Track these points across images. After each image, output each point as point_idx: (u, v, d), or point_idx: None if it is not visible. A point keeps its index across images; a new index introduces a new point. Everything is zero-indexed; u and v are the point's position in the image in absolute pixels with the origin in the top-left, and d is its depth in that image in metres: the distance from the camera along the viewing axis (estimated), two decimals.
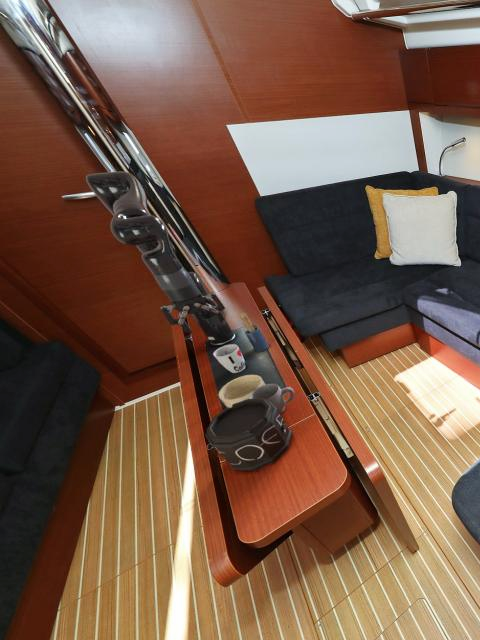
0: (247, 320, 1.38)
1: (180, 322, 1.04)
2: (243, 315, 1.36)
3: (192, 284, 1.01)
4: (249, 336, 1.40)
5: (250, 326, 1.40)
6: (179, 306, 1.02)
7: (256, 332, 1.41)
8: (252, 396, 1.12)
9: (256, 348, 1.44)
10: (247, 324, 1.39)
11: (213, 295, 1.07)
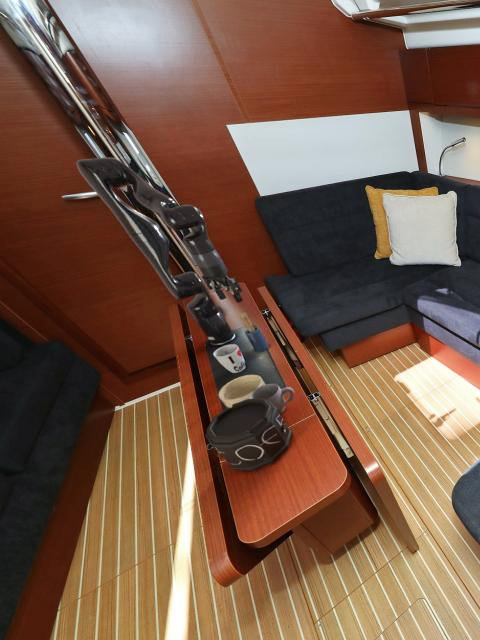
0: (247, 320, 1.38)
1: (213, 290, 1.28)
2: (243, 315, 1.36)
3: (212, 267, 1.19)
4: (249, 336, 1.40)
5: (250, 326, 1.40)
6: (211, 279, 1.25)
7: (256, 332, 1.41)
8: (252, 396, 1.12)
9: (256, 348, 1.44)
10: (247, 324, 1.39)
11: (228, 280, 1.23)
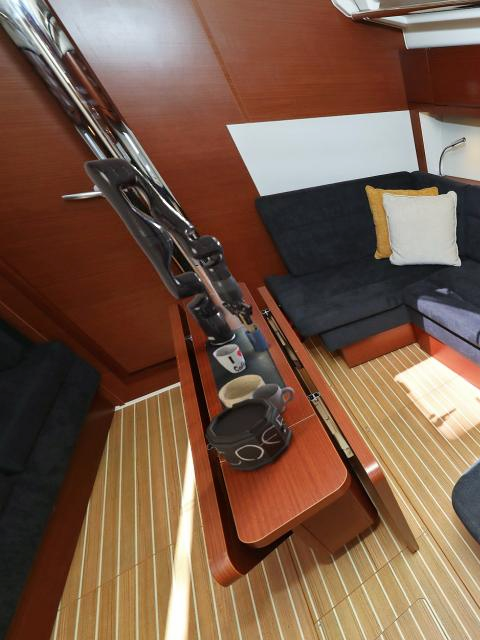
0: None
1: (236, 315, 1.36)
2: None
3: (229, 292, 1.27)
4: (249, 336, 1.40)
5: (250, 326, 1.40)
6: (227, 302, 1.33)
7: (256, 332, 1.41)
8: (252, 396, 1.12)
9: (256, 348, 1.44)
10: None
11: (245, 308, 1.32)
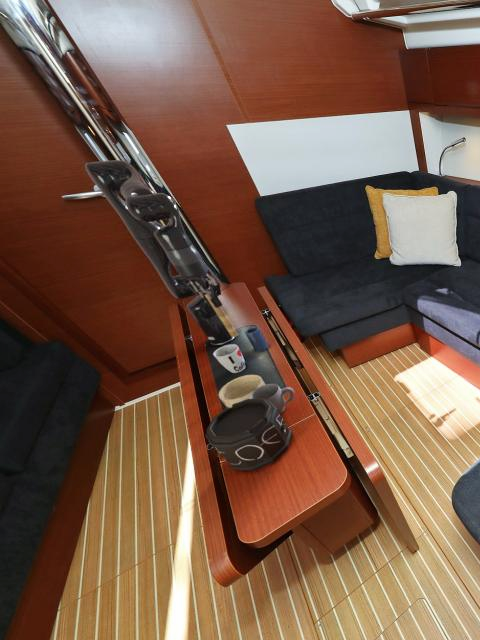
0: None
1: (200, 296, 1.13)
2: None
3: (189, 265, 1.04)
4: (249, 336, 1.40)
5: (219, 309, 1.16)
6: (189, 279, 1.09)
7: (256, 332, 1.41)
8: (252, 396, 1.12)
9: (256, 348, 1.44)
10: None
11: (211, 285, 1.08)
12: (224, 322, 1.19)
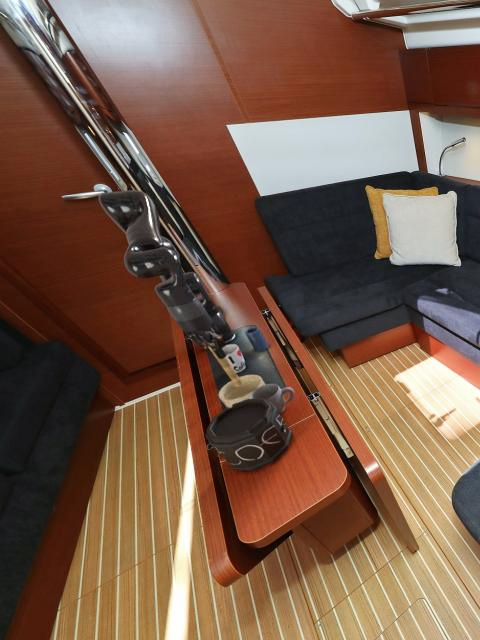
0: None
1: (204, 347, 1.06)
2: None
3: (192, 320, 0.97)
4: (249, 336, 1.40)
5: (223, 360, 1.10)
6: (192, 332, 1.03)
7: (256, 332, 1.41)
8: (252, 396, 1.12)
9: (256, 348, 1.44)
10: (218, 358, 1.08)
11: (215, 339, 1.02)
12: (228, 372, 1.12)
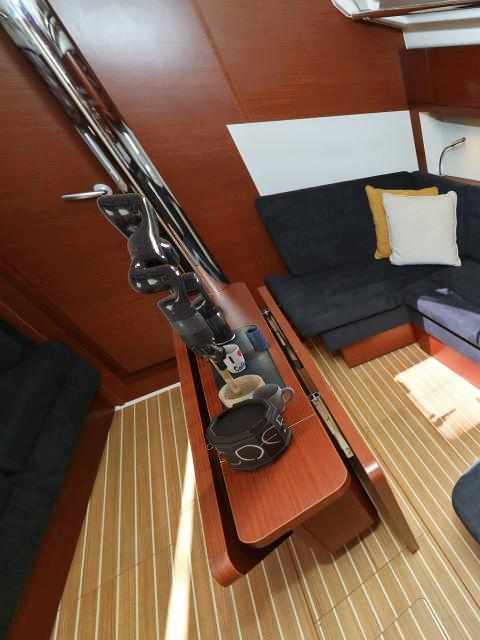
0: None
1: (205, 359, 1.08)
2: None
3: (194, 334, 1.00)
4: (249, 336, 1.40)
5: (224, 372, 1.12)
6: None
7: (256, 332, 1.41)
8: (252, 396, 1.12)
9: (256, 348, 1.44)
10: None
11: (216, 352, 1.04)
12: (229, 383, 1.15)
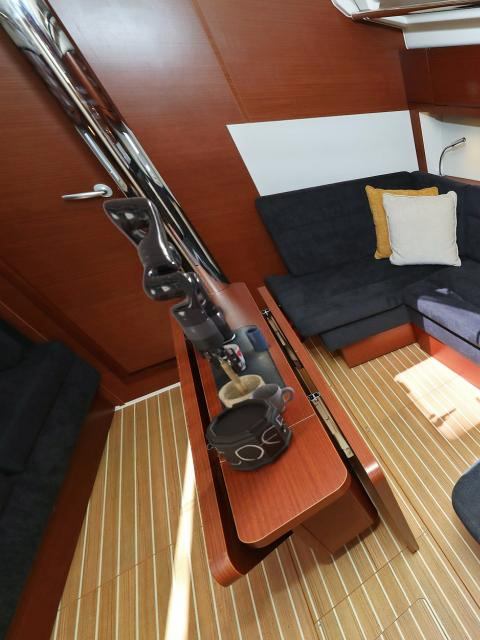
0: (231, 370, 1.13)
1: (207, 360, 1.10)
2: (226, 365, 1.11)
3: (205, 339, 1.02)
4: (249, 336, 1.40)
5: (235, 377, 1.14)
6: (204, 349, 1.07)
7: (256, 332, 1.41)
8: (252, 396, 1.12)
9: (256, 348, 1.44)
10: (230, 375, 1.13)
11: (224, 352, 1.05)
12: (239, 388, 1.17)
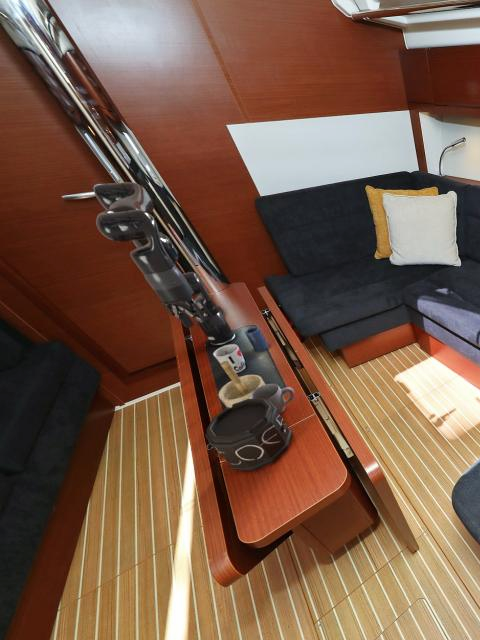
0: (231, 370, 1.13)
1: (176, 316, 1.01)
2: (226, 365, 1.11)
3: (171, 289, 0.93)
4: (249, 336, 1.40)
5: (235, 377, 1.14)
6: (172, 303, 0.98)
7: (256, 332, 1.41)
8: (252, 396, 1.12)
9: (256, 348, 1.44)
10: (230, 375, 1.13)
11: (193, 305, 0.96)
12: (239, 388, 1.17)
